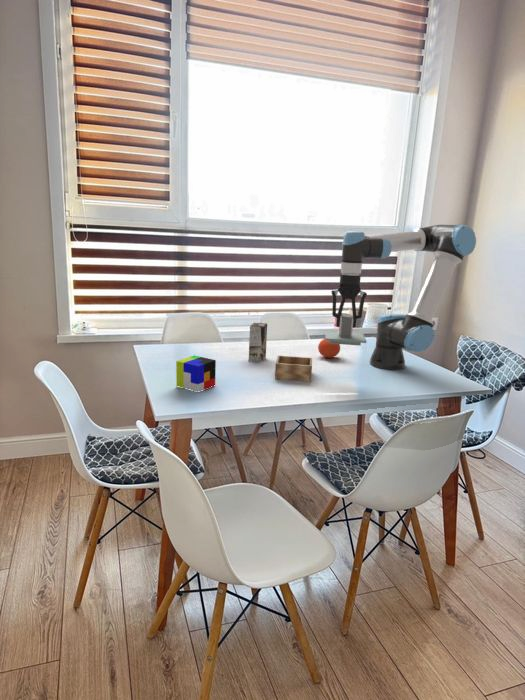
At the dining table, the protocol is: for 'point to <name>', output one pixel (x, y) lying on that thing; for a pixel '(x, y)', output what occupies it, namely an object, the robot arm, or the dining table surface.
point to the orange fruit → (328, 348)
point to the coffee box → (257, 342)
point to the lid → (345, 334)
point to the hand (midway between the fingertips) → (345, 335)
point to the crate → (293, 368)
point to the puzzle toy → (195, 373)
